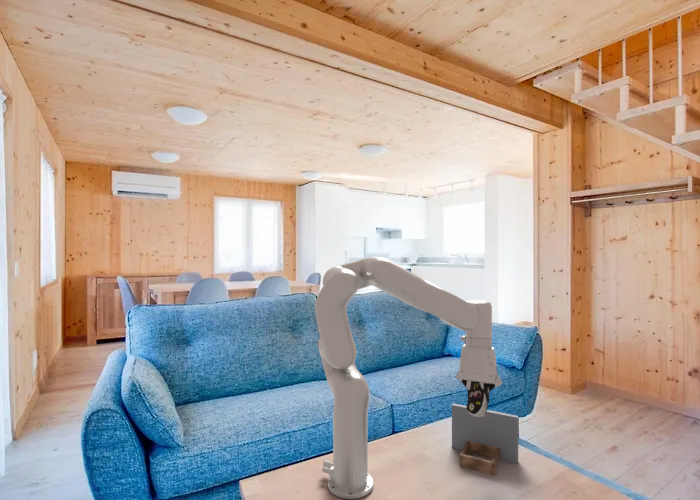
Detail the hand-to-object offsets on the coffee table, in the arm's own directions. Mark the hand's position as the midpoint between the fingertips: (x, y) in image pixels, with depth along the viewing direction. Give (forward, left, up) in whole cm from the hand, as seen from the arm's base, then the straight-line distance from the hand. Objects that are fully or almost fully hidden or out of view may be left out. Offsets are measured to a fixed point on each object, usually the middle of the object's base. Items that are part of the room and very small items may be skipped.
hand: (478, 402), depth 119 cm
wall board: (0, +8, -19) cm, 21 cm away
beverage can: (-1, 0, -4) cm, 4 cm away
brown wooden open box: (0, +2, -19) cm, 19 cm away
